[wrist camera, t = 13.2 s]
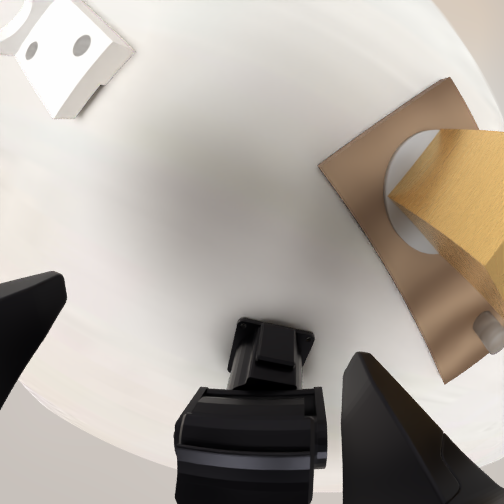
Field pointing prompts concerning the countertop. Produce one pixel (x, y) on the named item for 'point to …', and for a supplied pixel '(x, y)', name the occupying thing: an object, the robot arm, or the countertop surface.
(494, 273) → the gold square tube
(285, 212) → the countertop surface
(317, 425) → the robot arm
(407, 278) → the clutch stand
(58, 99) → the bracket
